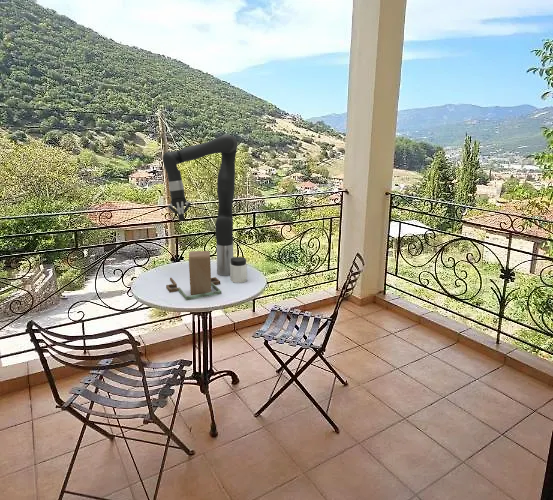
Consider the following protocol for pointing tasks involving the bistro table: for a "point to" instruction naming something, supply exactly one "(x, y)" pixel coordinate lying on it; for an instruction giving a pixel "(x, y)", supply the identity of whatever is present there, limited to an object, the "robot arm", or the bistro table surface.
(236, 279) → the jar
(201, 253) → the block
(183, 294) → the notched outline frame
